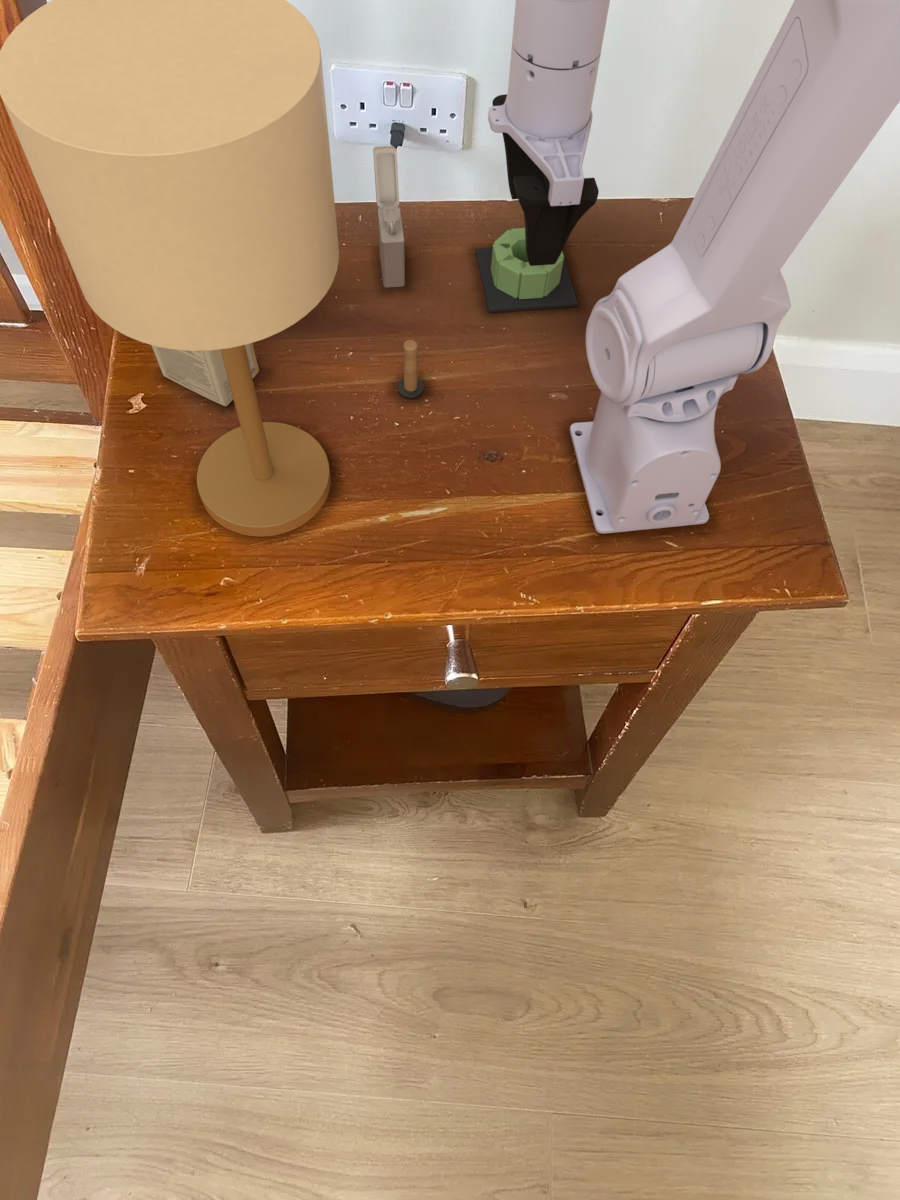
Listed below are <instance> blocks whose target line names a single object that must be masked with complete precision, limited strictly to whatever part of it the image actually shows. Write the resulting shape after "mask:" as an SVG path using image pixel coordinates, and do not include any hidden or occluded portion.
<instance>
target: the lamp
mask: <svg viewBox="0 0 900 1200" xmlns="http://www.w3.org/2000/svg"><path fill="white" fill-rule="evenodd" d="M324 80H325V79H324V69H323V59H322V49H321V44H320V41H319V37H318V36H317V33H316V31H315V29H314V27H313V25H312V24H311V23H310V21H309V20H308V18H307V17H306V16H305V15H304V14H303V13H302V12H301V11H300V10H299V9H298V8H297V7H296V6H294V5H293V4H291V3H290V2H289V1H288V0H50V1H49V2H47V3H45V4H44V5H42V6H40V7H39V8H37V9H36V10H34V11H33V12H32V13H30V14H29V15H28V16H26V17H25V18H24V19H23V20H21V22H20V23H19V24H18V25H17V26H16V27H15V28H14V29H13V30H12V31H11V33H10V34H9V35H8V36H7V38H6V39H5V40H4V43H3V45H2V46H1V48H0V97H1V100H2V103H3V105H4V107H5V110H6V112H7V115H8V117H9V119H10V122H11V124H12V127H13V129H14V131H15V133H16V135H17V138H18V141H19V142H20V146H21V148H22V151H23V153H24V155H25V157H26V160H27V163H28V165H29V167H30V169H31V172H32V174H33V177H34V179H35V181H36V184H37V187H38V189H39V191H40V194H41V196H42V198H43V201H44V203H45V206H46V208H47V210H48V213H49V215H50V217H51V220H52V222H53V225H54V228H55V230H56V232H57V234H58V237H59V240H60V242H61V244H62V246H63V249H64V252H65V254H66V257H67V259H68V261H69V264H70V266H71V269H72V270H73V273H74V276H75V278H76V281H77V283H78V285H79V288H80V290H81V292H82V294H83V297H84V299H85V301H86V302H87V304H88V305H89V307H90V309H91V310H92V311H93V312H94V313H95V314H96V315H97V316H98V317H99V318H100V319H101V320H102V321H103V322H104V323H106V324H107V325H108V326H109V327H111V328H112V329H113V330H115V331H117V332H119V333H120V334H122V335H124V336H126V337H128V338H131V339H133V340H135V341H137V342H140V343H142V344H143V343H144V344H147V345H149V346H152V345H153V346H157V347H162V348H168V349H174V350H186V351H210V350H219V349H220V350H221V354H222V358H223V362H224V365H225V369H226V373H227V377H228V381H229V384H230V388H231V392H232V396H233V400H232V401H233V403H234V408H235V411H236V414H237V418H238V424H239V426H238V427H235V428H233V429H231V430H229V431H227V432H226V433H224V434H222V435H221V436H219V438H217V439H216V440H214V442H213V443H212V444H211V445H209V446H208V448H207V449H206V450H205V452H204V453H203V455H202V457H201V459H200V461H199V464H198V467H197V471H196V487H197V491H198V494H199V497H200V500H201V502H202V505H203V507H204V509H205V510H206V512H207V513H208V515H209V516H210V517H211V519H212V520H214V521H215V522H216V523H217V524H219V525H220V526H221V527H223V528H225V529H227V530H229V531H231V532H233V533H236V534H239V535H241V536H242V535H243V536H249V537H256V538H257V537H272V536H273V537H274V536H278V535H283V534H286V533H289V532H291V531H294V530H296V529H298V528H300V527H302V526H304V525H305V524H306V523H308V522H309V521H310V520H312V518H314V517H315V516H316V515H317V514H318V513H319V512H320V511H321V509H322V507H323V506H324V505H325V503H326V501H327V499H328V497H329V493H330V491H331V484H332V476H331V468H330V463H329V459H328V455H327V453H326V451H325V450H324V448H323V446H322V445H321V444H320V442H319V441H318V440H317V439H315V437H314V436H312V435H311V434H310V433H309V432H307V431H305V430H304V429H301V428H299V427H297V426H296V425H295V426H294V425H291V424H289V423H283V422H277V421H263V418H262V414H261V409H260V406H259V400H258V397H257V392H256V388H255V383H254V378H252V374H251V370H250V365H249V361H248V356H247V352H246V348H245V345H247V344H250V343H253V344H254V343H256V342H259V341H263V340H266V339H267V338H270V337H272V336H274V335H276V334H279V333H282V332H284V331H285V330H287V329H288V328H290V327H292V326H293V325H295V324H296V323H298V322H299V321H301V320H303V318H305V317H306V316H307V315H308V314H310V312H311V311H312V310H314V309H315V308H316V307H317V306H318V305H319V304H320V302H322V300H323V298H324V297H325V296H326V295H327V293H328V291H329V290H330V288H331V286H332V284H333V282H334V281H335V277H336V275H337V271H338V266H339V263H340V246H339V245H340V244H339V236H338V224H337V223H338V222H337V213H336V203H335V202H336V201H335V192H334V191H335V190H334V180H333V169H332V158H331V148H330V138H329V137H330V136H329V125H328V113H327V103H326V92H325V81H324Z"/></svg>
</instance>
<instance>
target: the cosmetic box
mask: <svg viewBox="0 0 900 1200" xmlns="http://www.w3.org/2000/svg"><path fill="white" fill-rule="evenodd" d="M151 348H152V351H153V353H154V356H155V358H156V360H157V364H158V366H159V368H160V370H161V374H162V376H163V377H165V378H166V379H168V380H170V381H172V382H174V383H176V384H178V385H179V386H182V387H184V388H186V389H188V390H189V391H192V392H194V393H196V394H198V395H200V396H202V397H204V398H206V399H208V400H209V401H211V402H214V403H216V404H219V405H221V406H223V407H228V406H229V405H230V404H231V402H233V401H234V400H233V396H232V392H231V388H230V384H229V381H228V377H227V373H226V369H225V365H224V362H223V358H222V354H221V350H220V349H219V350H210V351H186V350H174V349H168V348H162V347H157V346H153V345H151ZM245 348H246V352H247V356H248V361H249V365H250V370H251V374H252V378H253V379H254V378H255V377H256V376H257V375H258V373H259V372H260V367H259V364H258V361H257V356H256V352H255V347H254V342H253V343H250V344H247V345H245Z"/></svg>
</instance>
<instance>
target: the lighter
mask: <svg viewBox="0 0 900 1200" xmlns="http://www.w3.org/2000/svg"><path fill="white" fill-rule="evenodd" d="M372 155H373V168H374V169H373V170H374V183H375V200H376V205H377V207H378V208H377V223H378V225H377V226H378V246H379V247H378V248H379V249H378V250H379V261H380V268H381V277H382V285H383V287H384V288H400V287H402V288H403V287H404V286H405V285H406V280H405V279H406V273H405V271H406V269H405V268H406V267H405V263H406V262H405V237H404V228H403V222H402V216H401V208H400V207H399V205H400V188H399V171H398V170H399V169H398V150H397V149H396V147H395V146H394V145H385V146H383V145H381V146H374V147H373V148H372Z"/></svg>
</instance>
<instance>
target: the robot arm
mask: <svg viewBox="0 0 900 1200" xmlns="http://www.w3.org/2000/svg"><path fill="white" fill-rule="evenodd" d="M610 3H611V0H515V5H514V15H513V16H514V17H513V26H512V36H511V37H512V38H511V51H510V62H509V72H508V82H507V84H508V85H507V93H505V94H500V95H497V96H495V97H494V98H493V99H492V103H491V104H492V106H491V107H488V111H487V112H488V113H487V120H488V124H489V128H490V130H491V131H492V132H493V133H496V134H502V138H503V145H504V152H505V161H506V162H505V163H506V172H507V183H508V190H509V193H510V197H511V200H518V202H519V205H520V207H521V210H522V211H523V219H524V228H525V242H526V253H527V257H528V261H529V265H530V266H538V265H552V264H555V263H556V262H557V260H558V258H559V256H560V254H561V252H562V251H563V250H564V248H565V246H566V244H567V241H568V239H569V237H570V235H571V234H572V232H573V230H574V228H575V227H576V226H577V224H578V223H579V222H580V220H581V219H582V218H583V216H584V215H585V214H586V213H587V212H588V211H589V210H590V209H591V208H592V207H593V206H595V205H596V203H597V200H598V198H599V192H600V191H599V187H598V184H597V180H596V178H595V177H585V176H584V173H583V165H584V161H585V154H586V151H587V146H588V142H589V137H590V134H591V129H592V123H593V115H594V114H593V111H592V106H593V102H594V101H593V100H594V95H595V89H596V84H597V78H598V71H599V65H600V62H601V55H602V48H603V43H604V39H605V33H606V26H607V21H608V15H609V10H610V9H609V8H610ZM899 103H900V0H794V1H793V2H792V3H791V7H790V8H789V10H788V12H787V14H786V16H785V18H784V20H783V22H782V24H781V25H780V28H779V30H778V32H777V34H776V36H775V38H774V40H773V42H772V44H771V46H770V48H769V49H768V52H767V54H766V55H765V57H764V60H763V61H762V64H761V66H760V67H759V69H758V71H757V73H756V75H755V77H754V79H753V81H752V83H751V85H750V87H749V89H748V91H747V93H746V95H745V96H744V99H743V101H742V103H741V105H740V107H739V109H738V110H737V113H736V115H735V117H734V119H733V120H732V122H731V125H730V127H729V129H728V130H727V132H726V135H725V136H724V138H723V140H722V142H721V145H720V146H719V148H718V150H717V153H716V154H715V156H714V159H712V162H711V164H710V166H709V168H708V170H707V172H706V173H705V175H704V177H703V180H702V182H701V183H700V186H699V188H698V189H697V191H696V193H695V195H694V198H693V199H692V201H691V203H690V206H689V207H688V209H687V211H686V213H685V215H684V217H683V218H682V221H681V223H680V225H679V227H678V229H677V231H676V232H675V235H674V237H673V239H672V240H671V242H670V243H669V244H668V245H666V246H665V247H663V248H661V249H660V250H659V251H657V252H655V253H654V254H653V255H651V256H649V257H648V258H646V259H645V260H643V261H642V262H640V263H638V264H637V265H635V266H633V267H632V268H630V269H629V270H628V271H626V272H625V273H623V274H622V275H621V276H619V277H618V279H617V281H616V283H615V286H614V287H613V289H612V291H611V292H610V294H608V295H606V296H604V297H601V298H600V299H598V300H597V301H596V303H595V304H594V306H593V307H592V309H591V312H590V316H589V318H588V320H587V323H586V328H585V350H586V358H587V363H588V366H589V371H590V372H591V375H592V378H593V380H594V383H595V385H596V386H597V388H598V389H599V390H600V394H599V399H598V403H597V406H596V410H595V414H594V417H593V421H581V422H573V423H572V424H571V425H570V426H569V434H570V438H571V443H572V446H573V449H574V453H575V457H576V462H577V465H578V469H579V472H580V477H581V481H582V484H583V488H584V492H585V495H586V500H587V503H588V508H589V512H590V515H591V518H592V523H593V527H594V529H595V532H597V533H598V534H616V533H625V532H634V531H645V530H655V529H663V528H664V529H666V528H675V527H685V526H686V527H687V526H696V525H704V524H707V523H708V521H709V519H710V513H709V510H708V508H707V504H706V502H707V500H708V498H709V495H710V493H711V491H712V489H713V487H714V486H715V483H716V482H717V480H718V477H719V475H720V473H721V468H722V464H721V463H722V462H721V457H720V454H719V449H718V446H717V443H716V435H715V420H716V412H717V409H718V405H719V401H720V399H721V397H722V396H723V395H724V394H725V393H727V392H729V391H732V390H733V389H734V387H735V384H736V382H737V380H738V378H739V374H740V375H749V374H752V373H754V372H756V371H758V370H760V369H762V367H763V366H764V365H765V364H766V363H767V361H768V359H769V358H770V357H771V354H772V351H773V348H774V345H775V340H776V335H777V332H778V328H779V326H780V323H781V322H782V321H783V319H784V318H785V316H786V315H787V313H788V312H789V311H790V309H791V308H792V303H791V299H790V295H789V291H788V286H787V284H786V283H787V282H786V280H785V278H784V276H783V273H782V272H781V269H782V268H783V266H784V265H785V264H786V262H787V261H788V260H789V258H790V257H791V255H792V254H793V253H794V251H795V249H796V248H797V246H798V245H799V244H800V243H801V241H802V240H803V239H804V237H805V236H806V234H807V233H808V231H809V230H810V228H811V227H812V226H813V224H814V223H815V221H816V220H817V218H818V217H819V216H820V215H821V213H822V212H823V210H824V209H825V207H826V206H827V205H828V203H829V202H830V200H831V199H832V197H833V196H834V195H835V193H836V192H837V190H838V189H839V188H840V186H841V185H842V183H843V182H844V181H845V180H846V178H847V176H848V175H849V174H850V173H851V171H852V169H853V168H854V166H855V165H856V163H858V161H859V159H860V158H861V157H862V155H863V154H864V152H865V151H866V149H867V148H868V147H869V146H870V144H871V142H872V141H873V140H874V138H875V137H876V136H877V134H878V133H879V131H880V130H881V129H882V128H883V126H884V124H885V123H886V122H887V120H888V118H889V117H890V116H891V115H892V113H893V111H894V110H895V109H896V107H898V104H899ZM598 514H600V515H598Z"/></svg>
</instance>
